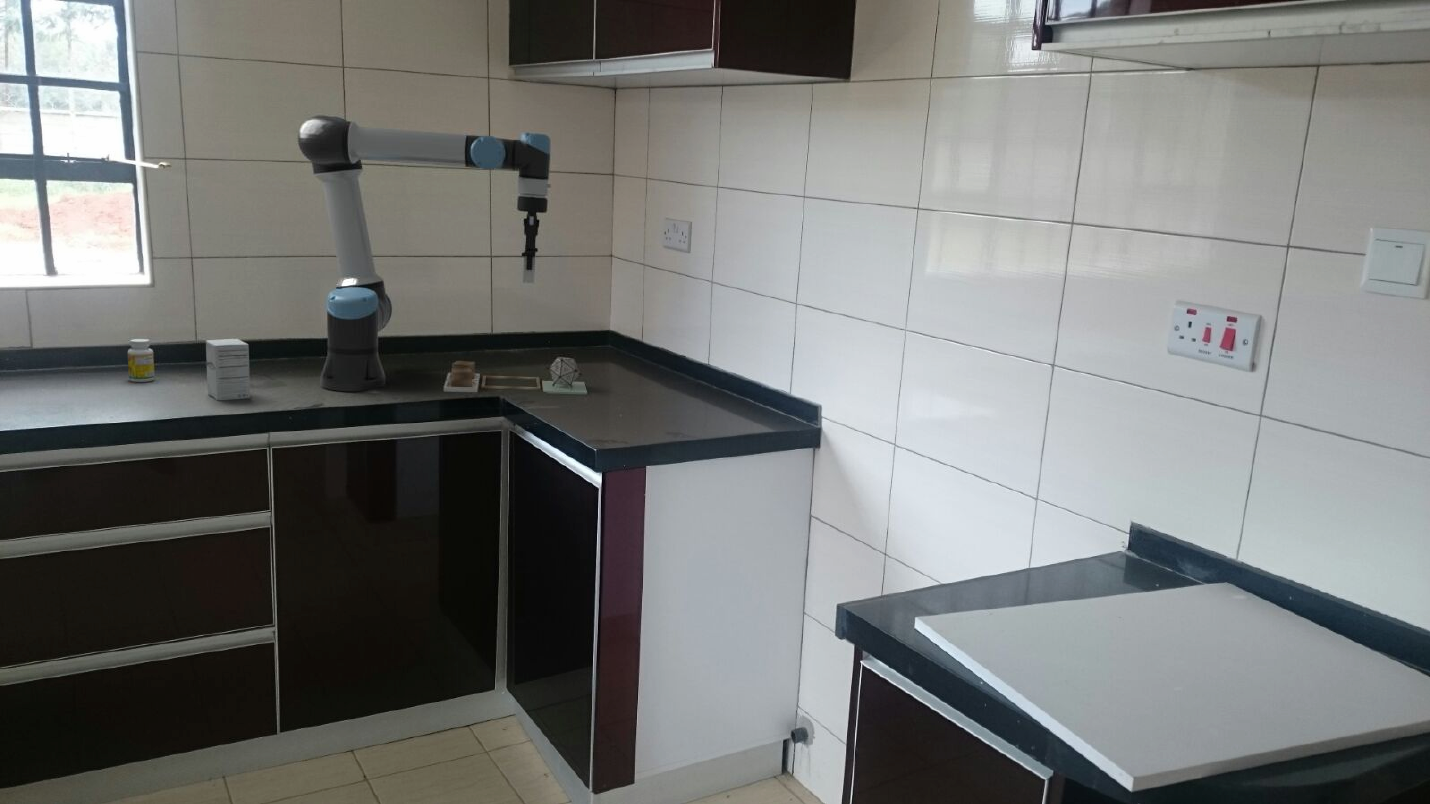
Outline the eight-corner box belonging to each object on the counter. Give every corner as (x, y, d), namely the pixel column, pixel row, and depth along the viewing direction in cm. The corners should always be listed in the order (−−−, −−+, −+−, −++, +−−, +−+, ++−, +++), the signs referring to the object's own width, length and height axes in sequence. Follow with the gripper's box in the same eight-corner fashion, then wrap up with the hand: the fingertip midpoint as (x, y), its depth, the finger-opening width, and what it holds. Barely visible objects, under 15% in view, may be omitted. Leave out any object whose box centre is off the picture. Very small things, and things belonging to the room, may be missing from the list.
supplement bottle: (154, 382, 251) (152, 342, 249) (128, 382, 249) (126, 342, 247) (154, 377, 256) (152, 338, 254) (129, 378, 253) (126, 338, 251)
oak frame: (481, 390, 266) (481, 386, 265) (482, 379, 279) (483, 375, 278) (540, 391, 268) (540, 388, 268) (539, 381, 281) (539, 377, 281)
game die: (569, 399, 276) (593, 369, 277) (561, 394, 268) (585, 362, 268) (543, 379, 278) (567, 349, 278) (534, 373, 269) (559, 342, 270)
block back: (451, 381, 271) (452, 363, 270) (457, 377, 276) (457, 360, 275) (469, 382, 271) (469, 365, 270) (474, 379, 275) (474, 362, 274)
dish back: (446, 385, 269) (446, 379, 268) (448, 378, 276) (448, 372, 276) (478, 386, 270) (478, 379, 270) (479, 379, 278) (479, 373, 278)
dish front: (443, 393, 259) (443, 387, 259) (445, 386, 267) (445, 380, 267) (477, 394, 261) (477, 388, 260) (478, 387, 268) (478, 381, 268)
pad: (543, 393, 267) (543, 391, 266) (541, 383, 279) (541, 380, 279) (587, 394, 269) (587, 392, 269) (583, 384, 281) (584, 381, 281)
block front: (453, 390, 261) (453, 372, 260) (451, 386, 265) (451, 368, 264) (471, 390, 262) (472, 372, 261) (469, 386, 267) (469, 368, 266)
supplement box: (206, 394, 243) (204, 339, 240) (240, 391, 247) (239, 338, 245) (216, 401, 237) (214, 345, 234) (251, 398, 242) (249, 343, 239)
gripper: (548, 199, 257) (543, 286, 262) (547, 195, 281) (543, 275, 286) (516, 196, 256) (512, 284, 261) (518, 193, 280) (514, 273, 285)
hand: (528, 280), depth 273 cm, fingers open, 13 cm apart
